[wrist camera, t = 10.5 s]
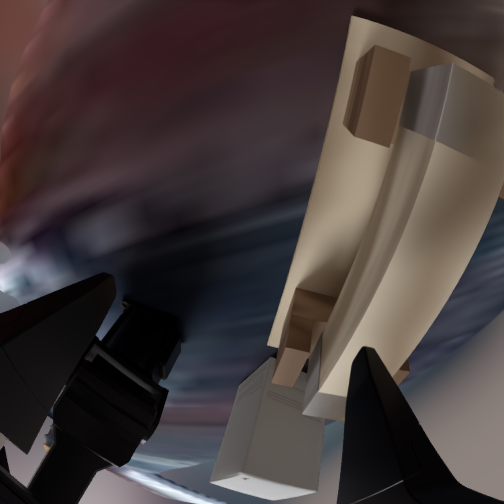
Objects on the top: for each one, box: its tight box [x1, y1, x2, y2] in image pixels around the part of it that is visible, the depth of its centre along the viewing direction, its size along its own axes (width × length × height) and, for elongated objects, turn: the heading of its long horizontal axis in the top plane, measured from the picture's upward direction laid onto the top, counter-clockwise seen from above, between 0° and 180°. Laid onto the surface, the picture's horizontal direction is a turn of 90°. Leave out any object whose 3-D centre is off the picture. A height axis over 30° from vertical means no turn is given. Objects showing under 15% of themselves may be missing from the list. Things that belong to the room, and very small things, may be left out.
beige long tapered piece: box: [267, 16, 504, 388], centre depth 16 cm, size 10×26×7 cm, turn 170°
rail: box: [302, 63, 504, 421], centre depth 14 cm, size 4×20×5 cm, turn 170°
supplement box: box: [210, 357, 325, 500], centre depth 24 cm, size 7×7×13 cm
